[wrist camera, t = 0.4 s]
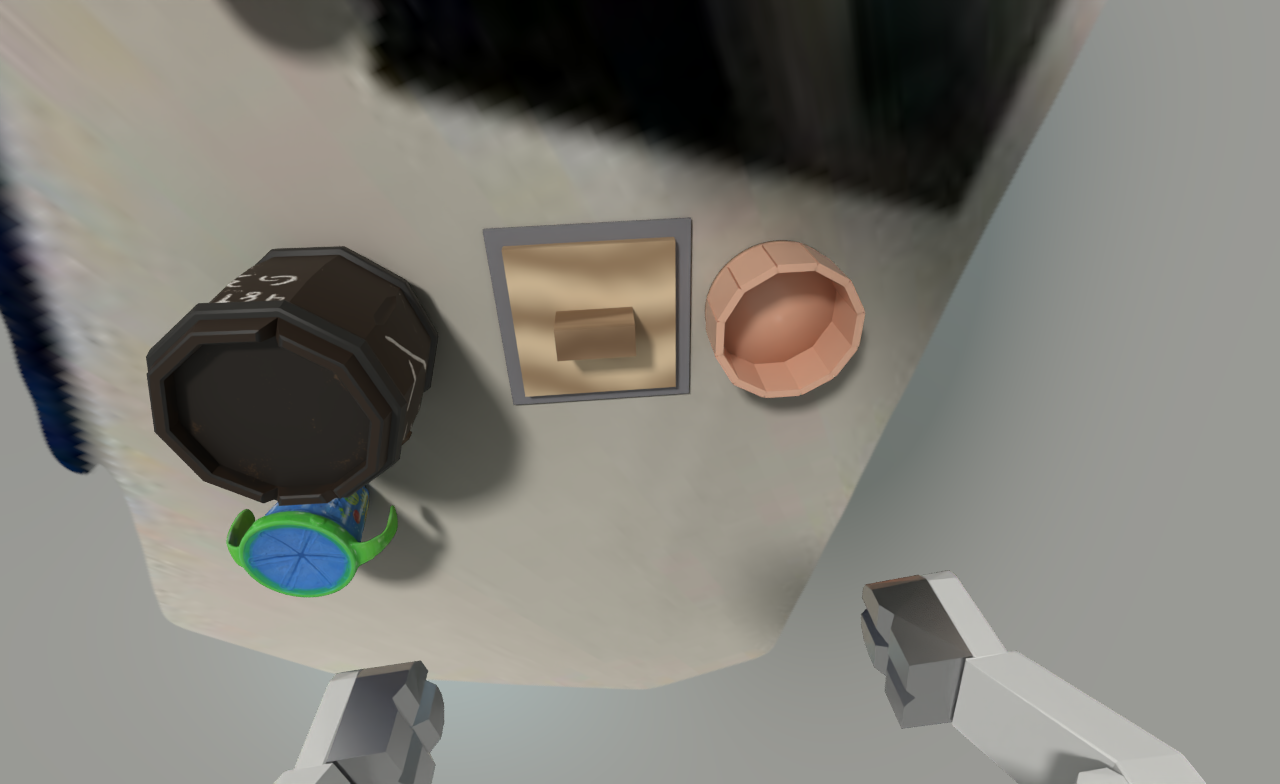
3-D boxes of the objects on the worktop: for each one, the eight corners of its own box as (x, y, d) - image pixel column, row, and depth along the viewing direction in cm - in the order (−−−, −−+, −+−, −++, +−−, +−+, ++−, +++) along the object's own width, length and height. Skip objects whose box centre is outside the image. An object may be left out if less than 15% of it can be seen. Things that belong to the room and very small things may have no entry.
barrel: (362, 440, 62) (301, 555, 49) (201, 318, 54) (75, 417, 41) (488, 344, 57) (457, 443, 44) (332, 194, 49) (237, 260, 36)
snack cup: (406, 458, 64) (378, 526, 55) (411, 529, 69) (386, 601, 61) (249, 447, 62) (195, 517, 53) (268, 521, 67) (221, 595, 59)
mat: (483, 228, 51) (482, 230, 51) (690, 217, 52) (691, 218, 52) (514, 402, 61) (513, 404, 61) (688, 391, 62) (688, 393, 61)
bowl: (706, 244, 54) (718, 268, 48) (848, 236, 54) (875, 259, 49) (703, 369, 60) (713, 401, 55) (829, 361, 61) (850, 392, 56)
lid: (502, 246, 52) (495, 266, 48) (674, 236, 53) (681, 256, 48) (526, 391, 60) (521, 419, 56) (674, 381, 61) (680, 408, 56)
